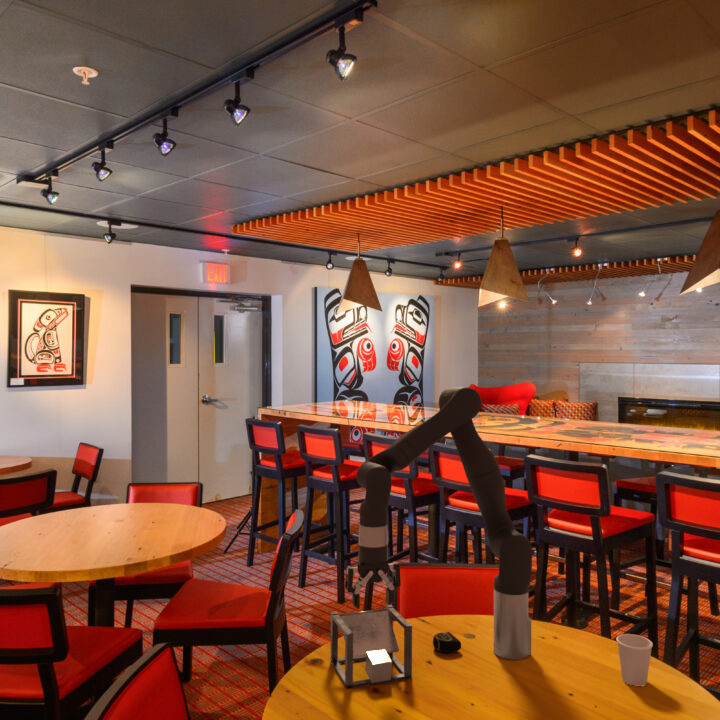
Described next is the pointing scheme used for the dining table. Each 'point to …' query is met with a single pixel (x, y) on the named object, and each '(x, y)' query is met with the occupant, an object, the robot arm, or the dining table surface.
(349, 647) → the frame
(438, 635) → the tape measure
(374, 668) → the gray cube
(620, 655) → the dixie cup
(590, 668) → the dining table surface
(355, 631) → the trapdoor
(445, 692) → the dining table surface
